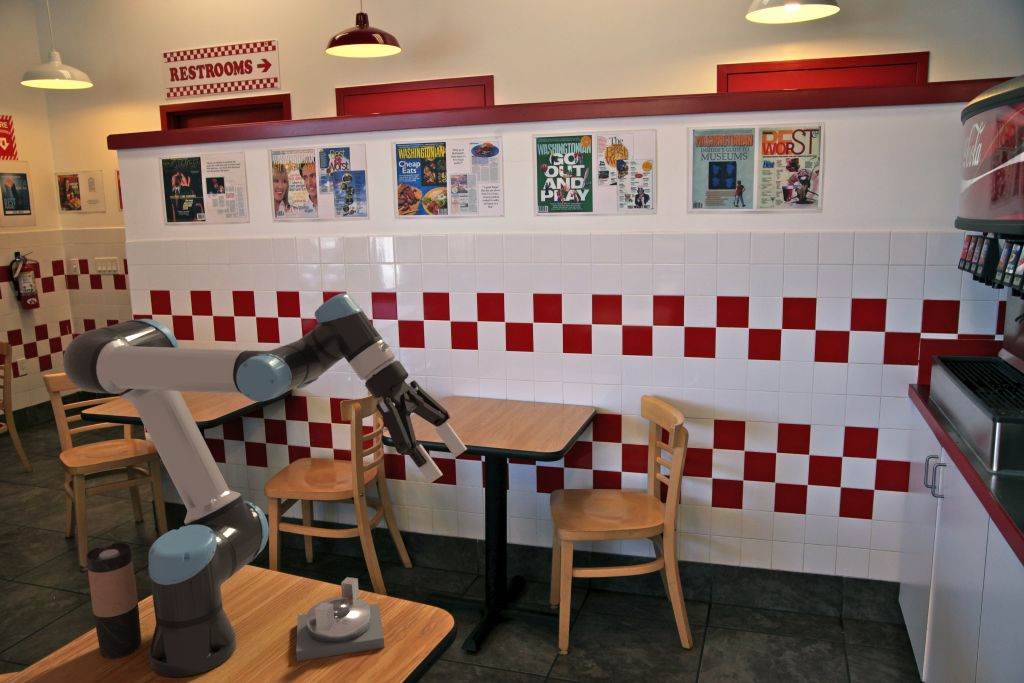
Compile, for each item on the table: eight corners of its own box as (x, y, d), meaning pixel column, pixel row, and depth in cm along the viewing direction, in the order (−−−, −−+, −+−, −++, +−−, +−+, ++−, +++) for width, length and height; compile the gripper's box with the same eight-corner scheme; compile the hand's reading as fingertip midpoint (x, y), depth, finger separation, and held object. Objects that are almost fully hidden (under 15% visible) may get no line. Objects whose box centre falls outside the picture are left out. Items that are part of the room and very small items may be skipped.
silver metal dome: (307, 646, 146) (304, 613, 145) (307, 613, 157) (305, 582, 156) (372, 636, 149) (370, 604, 148) (368, 604, 160) (366, 574, 159)
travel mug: (125, 661, 147) (112, 562, 143) (89, 657, 148) (75, 559, 144) (151, 638, 154) (139, 543, 150) (117, 634, 156) (104, 540, 152)
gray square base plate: (297, 661, 146) (296, 648, 145) (298, 624, 158) (297, 612, 157) (384, 647, 149) (383, 635, 149) (379, 612, 162) (378, 600, 161)
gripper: (365, 375, 129) (441, 479, 129) (420, 345, 153) (484, 433, 153) (333, 399, 132) (408, 502, 132) (392, 366, 155) (456, 453, 155)
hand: (449, 465), depth 142 cm, fingers open, 13 cm apart
